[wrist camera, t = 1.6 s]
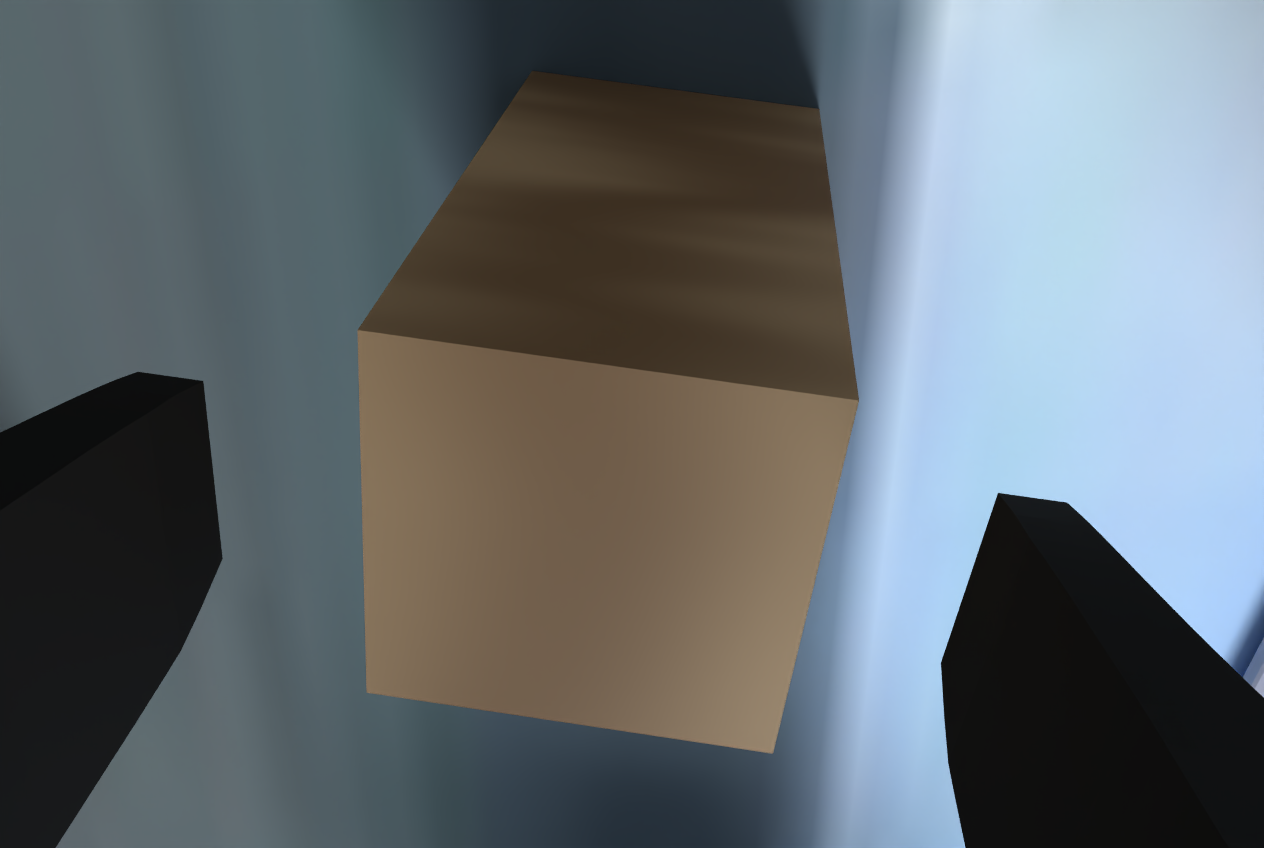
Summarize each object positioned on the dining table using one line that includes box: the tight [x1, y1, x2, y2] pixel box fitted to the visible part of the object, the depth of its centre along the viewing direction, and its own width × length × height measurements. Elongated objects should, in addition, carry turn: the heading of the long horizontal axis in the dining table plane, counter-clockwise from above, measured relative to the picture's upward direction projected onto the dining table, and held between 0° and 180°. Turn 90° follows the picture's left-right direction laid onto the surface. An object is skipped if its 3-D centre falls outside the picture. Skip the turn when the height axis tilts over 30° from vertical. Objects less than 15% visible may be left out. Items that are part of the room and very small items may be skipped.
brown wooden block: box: [358, 71, 859, 754], centre depth 14 cm, size 4×4×8 cm
